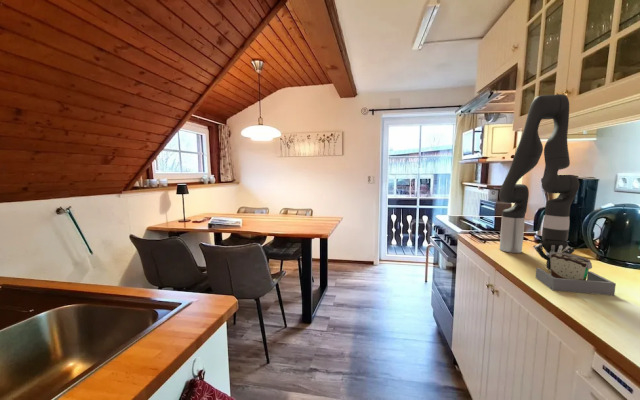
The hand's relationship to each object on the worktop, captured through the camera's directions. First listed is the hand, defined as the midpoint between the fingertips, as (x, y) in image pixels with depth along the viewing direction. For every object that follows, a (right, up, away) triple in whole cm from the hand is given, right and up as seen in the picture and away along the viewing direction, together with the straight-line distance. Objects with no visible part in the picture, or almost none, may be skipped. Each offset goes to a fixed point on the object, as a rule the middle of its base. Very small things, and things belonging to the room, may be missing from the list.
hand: (551, 270), depth 105 cm
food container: (-1, -3, -10) cm, 10 cm away
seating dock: (-3, -3, -11) cm, 12 cm away
